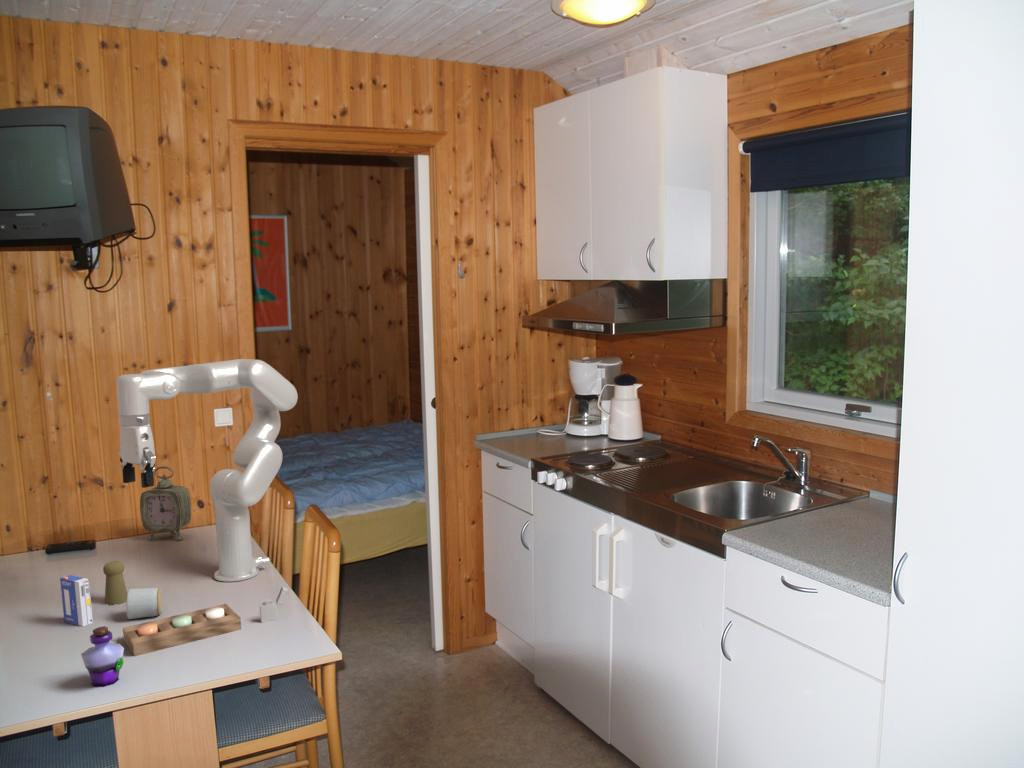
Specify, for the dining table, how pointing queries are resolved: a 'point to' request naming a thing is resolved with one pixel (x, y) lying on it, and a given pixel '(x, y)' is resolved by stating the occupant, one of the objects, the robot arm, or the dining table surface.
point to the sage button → (181, 621)
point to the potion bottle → (103, 658)
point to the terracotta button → (147, 629)
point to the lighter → (271, 607)
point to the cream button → (214, 613)
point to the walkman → (76, 600)
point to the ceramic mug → (144, 602)
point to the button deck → (181, 630)
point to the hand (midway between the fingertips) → (138, 484)
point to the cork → (114, 583)
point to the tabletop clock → (165, 507)
